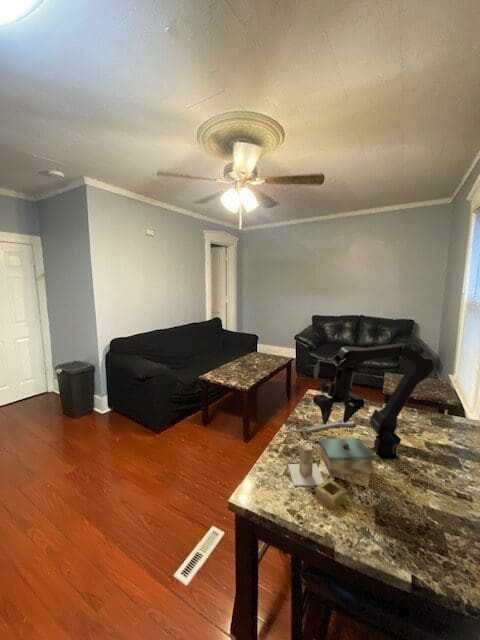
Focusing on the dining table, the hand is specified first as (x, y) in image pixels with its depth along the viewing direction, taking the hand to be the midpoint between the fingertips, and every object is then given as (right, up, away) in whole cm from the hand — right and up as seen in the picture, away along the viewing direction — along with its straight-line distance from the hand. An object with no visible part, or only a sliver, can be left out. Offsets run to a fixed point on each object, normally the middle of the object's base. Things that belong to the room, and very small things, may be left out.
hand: (334, 423), depth 101 cm
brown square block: (-13, -13, -9) cm, 20 cm away
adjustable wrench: (+4, -10, +22) cm, 24 cm away
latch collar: (-7, -15, -19) cm, 25 cm away
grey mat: (-13, -14, -9) cm, 21 cm away
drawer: (+2, -13, -4) cm, 14 cm away
